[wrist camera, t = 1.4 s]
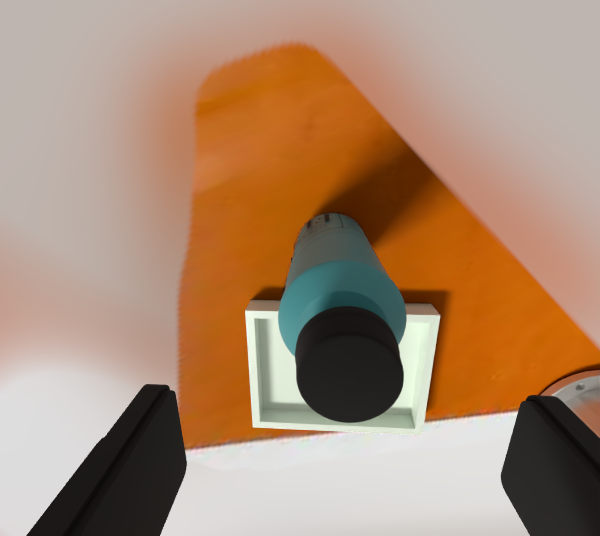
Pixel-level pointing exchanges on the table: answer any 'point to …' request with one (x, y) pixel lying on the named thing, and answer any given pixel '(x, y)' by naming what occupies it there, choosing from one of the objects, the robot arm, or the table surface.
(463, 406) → the table surface
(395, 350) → the beverage bottle
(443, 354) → the table surface
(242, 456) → the table surface
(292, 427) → the tray
